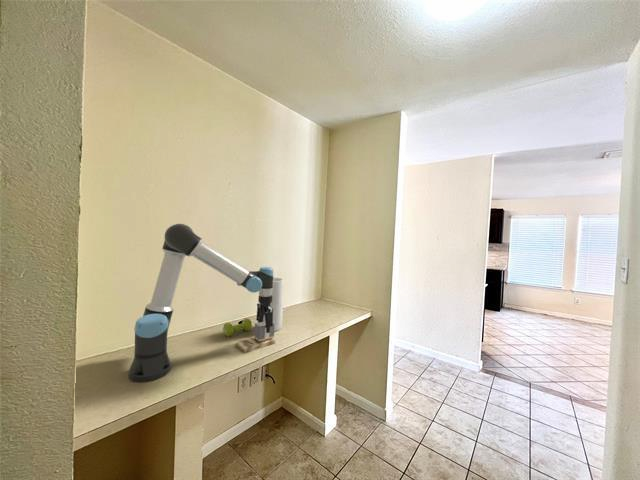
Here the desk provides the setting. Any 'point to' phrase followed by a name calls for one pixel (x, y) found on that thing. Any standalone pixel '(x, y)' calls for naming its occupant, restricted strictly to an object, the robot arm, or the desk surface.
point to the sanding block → (262, 331)
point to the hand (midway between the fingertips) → (263, 336)
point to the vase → (277, 302)
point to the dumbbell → (237, 327)
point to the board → (254, 344)
